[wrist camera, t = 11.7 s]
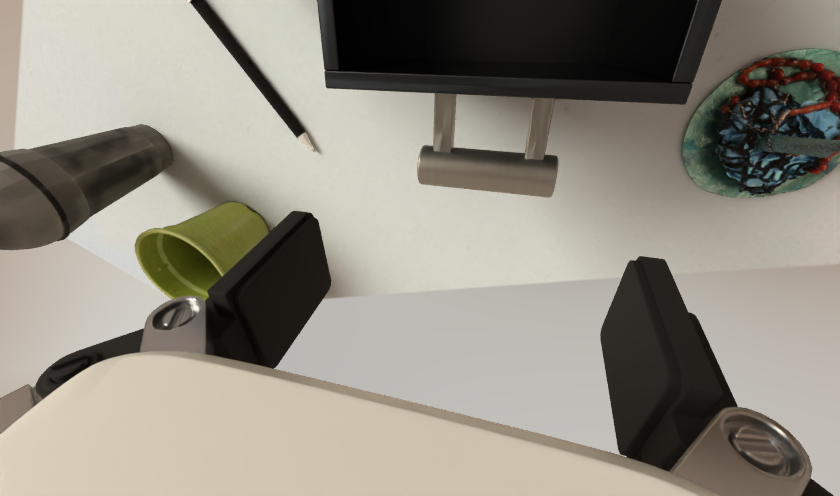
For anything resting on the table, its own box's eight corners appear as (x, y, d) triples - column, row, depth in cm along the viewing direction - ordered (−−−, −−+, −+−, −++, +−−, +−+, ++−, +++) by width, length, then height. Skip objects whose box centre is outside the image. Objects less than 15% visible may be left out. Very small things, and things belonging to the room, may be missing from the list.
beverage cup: (190, 190, 38) (-53, 330, 23) (129, 167, 39) (-150, 290, 23) (178, 123, 34) (-136, 241, 18) (109, 99, 34) (-255, 193, 19)
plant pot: (189, 190, 38) (113, 233, 32) (259, 181, 35) (191, 227, 28) (232, 261, 43) (174, 312, 36) (297, 259, 40) (247, 315, 33)
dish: (661, 158, 22) (848, 152, 16) (698, 55, 23) (891, 13, 17) (696, 210, 27) (851, 221, 21) (726, 124, 28) (885, 110, 22)
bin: (419, -137, 20) (277, -365, 9) (667, -162, 17) (909, -534, 6) (417, 135, 27) (337, 198, 16) (591, 148, 24) (641, 234, 13)
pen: (137, -91, 25) (122, -94, 24) (320, 147, 31) (314, 152, 31) (132, -80, 25) (117, -83, 24) (314, 152, 32) (307, 157, 31)
